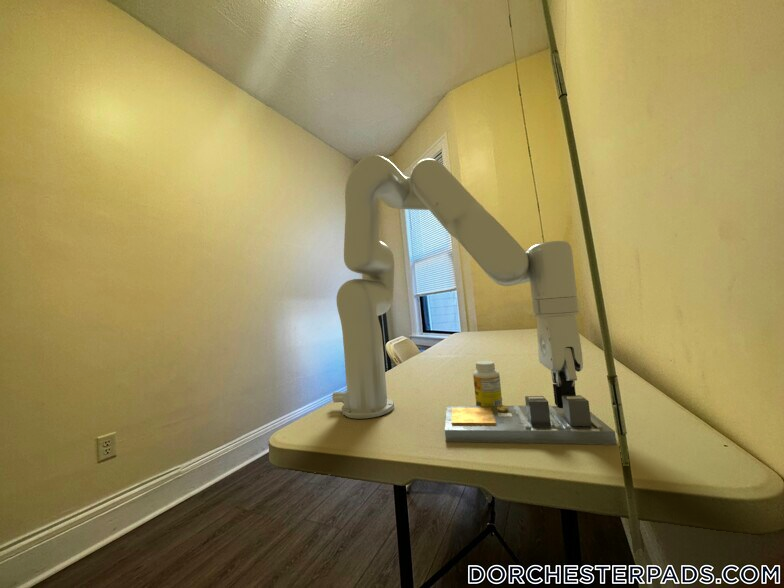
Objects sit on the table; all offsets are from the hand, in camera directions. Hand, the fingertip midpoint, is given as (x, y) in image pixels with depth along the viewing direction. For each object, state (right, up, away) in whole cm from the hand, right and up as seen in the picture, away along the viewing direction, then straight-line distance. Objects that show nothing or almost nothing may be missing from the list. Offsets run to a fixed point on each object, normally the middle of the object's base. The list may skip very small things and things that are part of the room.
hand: (565, 406), depth 53 cm
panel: (-9, -4, 0) cm, 10 cm away
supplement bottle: (-11, -5, +10) cm, 16 cm away
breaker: (-1, -1, -5) cm, 5 cm away
